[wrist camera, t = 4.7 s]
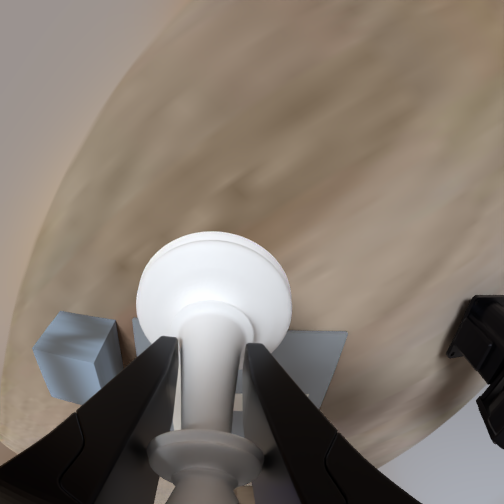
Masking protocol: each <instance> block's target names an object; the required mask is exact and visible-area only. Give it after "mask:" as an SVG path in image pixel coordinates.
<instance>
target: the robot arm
mask: <svg viewBox="0 0 504 504" xmlns="http://www.w3.org/2000/svg"><path fill="white" fill-rule="evenodd" d="M446 355H447V356H448V358H455V357H461V356H464V357H465V358H466V359H467V360H468V362H469V363H470V364H471V365H472V367H473V368H474V369H475V370H476V371H478V372H479V374H480V375H481V376H482V378H483V379H484V380H485V381H486V383H487V384H490V386H489V387H488V388H487V389H486V391H485V392H484V393H483V394H482V396H479V398H478V399H477V400H476V402H477V405H478V407H479V411H480V413H481V416H482V418H483V420H484V423H485V425H486V427H487V430H488V433H489V435H490V438H491V440H492V441H493V443H494V444H497V445H498V446H499V447H501V448H502V449H504V295H475V296H474V297H473V298H472V299H471V301H470V304H469V306H468V308H467V311H466V313H465V315H464V318H463V320H462V322H461V324H460V326H459V328H458V331H457V333H456V335H455V337H454V339H453V341H452V343H451V345H450V347H449V349H448V351H447V353H446ZM178 369H179V354H178V339H177V338H176V337H171V336H161V337H159V338H158V339H157V340H156V341H155V342H154V343H152V344H151V345H150V346H149V347H148V348H147V349H146V350H145V351H143V352H142V353H141V354H140V355H139V356H138V357H137V358H135V359H134V360H133V361H132V362H131V363H130V364H129V365H127V366H126V367H125V368H124V369H123V370H122V371H121V372H119V373H118V374H117V375H116V376H115V377H114V378H113V379H111V380H110V381H109V382H108V383H107V384H106V385H105V386H104V387H102V388H101V389H100V390H99V391H98V392H97V393H96V394H94V395H93V396H92V397H91V398H90V399H89V400H88V401H86V402H85V403H84V404H83V405H82V406H81V407H80V408H78V409H77V410H76V413H75V412H74V413H72V414H71V415H70V416H69V417H68V418H67V419H66V420H64V421H63V422H62V423H61V424H60V425H58V426H57V427H56V428H55V429H53V430H52V431H51V432H50V433H49V434H47V435H46V436H44V437H43V438H42V439H40V440H39V441H37V442H36V443H35V444H33V445H32V446H30V447H29V448H27V449H26V450H24V451H23V452H21V453H20V454H18V455H16V456H15V457H14V458H12V459H11V460H9V461H7V462H6V463H4V464H3V465H1V466H0V504H154V500H155V495H156V490H157V486H158V481H159V477H160V476H159V475H157V474H156V473H155V472H154V471H153V470H152V468H151V467H150V465H149V457H148V455H147V446H148V444H149V443H150V441H151V440H152V439H154V438H155V437H157V436H159V435H161V434H163V433H166V432H170V429H171V425H172V420H173V413H174V404H175V395H176V386H177V378H178ZM242 413H243V429H244V436H245V438H246V439H248V440H250V441H251V442H253V443H254V444H256V445H257V446H258V447H259V448H260V449H261V450H262V452H263V454H264V462H263V465H262V470H261V473H260V475H259V476H258V477H257V478H256V479H255V480H253V481H252V487H253V493H254V498H255V504H422V503H420V502H419V501H417V500H416V499H415V498H413V497H412V496H411V495H409V494H408V493H407V492H405V491H404V490H403V489H401V488H400V487H399V486H397V485H396V484H395V483H394V482H392V481H391V480H390V479H389V478H387V477H386V476H385V475H384V474H382V473H381V472H380V471H379V470H377V469H376V468H375V467H374V466H373V465H372V464H371V463H369V462H368V461H367V460H366V459H365V458H364V457H363V456H362V455H361V454H360V453H359V452H358V451H357V450H356V449H355V448H354V447H353V446H352V445H351V444H350V443H349V442H348V441H347V440H346V439H345V438H344V437H343V436H342V435H341V433H337V429H336V428H335V427H334V426H333V425H332V424H331V423H330V421H329V420H328V419H327V418H326V417H325V416H324V415H323V414H322V413H321V411H320V410H319V409H318V408H317V407H316V406H315V405H314V403H313V402H312V401H311V400H310V399H309V398H308V397H307V395H306V394H305V393H304V392H303V391H302V390H301V388H300V387H299V386H298V385H297V384H296V383H295V381H294V380H293V379H292V378H291V377H290V376H289V374H288V373H287V372H286V371H285V370H284V369H283V367H282V366H281V365H280V364H279V363H278V361H277V360H276V359H275V358H274V357H273V355H272V354H271V353H270V352H269V351H268V349H267V348H266V347H265V346H264V345H263V344H262V343H247V344H246V347H245V354H244V362H243V373H242Z"/></svg>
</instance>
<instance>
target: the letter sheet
mask: <svg viewBox="0 0 504 504" xmlns="http://www.w3.org/2000/svg"><path fill="white" fill-rule="evenodd" d="M132 322H133V330H134V339H135V346H136V354H137V357H138V356H139V355H140V354H141V353H142V352H143V351H145V350H146V349H147V348H148V347H149V346H150V345H151V343H150V341H149V340H148V339H147V337H146V336H145V334H144V332H143V330H142V328H141V326H140V323H139V320H138V318H134V317H133V319H132ZM347 335H348V333H347V331H295V330H288V331H287V333H286V335H285V337H284V339H283V340H282V342H281V343H280V344H279V346H278V347H277V348H276V349H275V350H274V351H273V352H272V353H271V354H272V355H273V357H274V358H275V359H276V360H277V361H278V363H279V364H280V365H281V366H282V367H283V369H284V370H285V371H286V372H287V373H288V374H289V376H290V377H291V378H292V379H293V380H294V381H295V383H296V384H297V385H298V386H299V387H300V388H301V390H302V391H303V392H304V393H305V394H306V395H307V397H308V398H309V399H310V400H311V401H312V402H313V403H314V405H315V406H316V407H317V408H318V409H319V408H320V406H321V404H322V401H323V399H324V396H325V394H326V391H327V389H328V386H329V384H330V381H331V379H332V376H333V374H334V371H335V368H336V366H337V363H338V360H339V358H340V355H341V352H342V349H343V347H344V344H345V341H346V338H347ZM242 373H243V369H241V370H238V377H237V384H236V392H235V400H234V408H233V422H232V431H231V434H235V435H238V436H241V437H243V438H245V436H244V429H243V413H242ZM175 430H181V365H179V369H178V378H177V386H176V395H175V404H174V413H173V420H172V425H171V429H170V431H175Z"/></svg>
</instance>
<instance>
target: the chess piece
mask: <svg viewBox="0 0 504 504" xmlns="http://www.w3.org/2000/svg"><path fill="white" fill-rule="evenodd" d="M136 309H137V316H138V320H139V323H140V326H141V328H142V330H143V332H144V334H145V336H146V337H147V339H148V340H149V341H150V343H151V344H152V343H154V342H155V341H156V340H157V339H158V338H159V337H161V336H171V337H176V338H177V339H178V354H179V365H181V430H175V431H170V432H166V433H163V434H161V435H159V436H157V437H155V438H154V439H152V440H151V441H150V443H149V444H148V446H147V455H148V457H149V465H150V467H151V468H152V470H153V471H154V472H155V473H156V474H157V475H159V476H160V477H162V478H163V479H165V480H167V481H169V482H172V483H173V484H174V485H175V486H176V487H175V488H174V490H173V492H172V493H171V495H170V497H169V498H168V500H167V502H166V503H165V504H240V503H239V501H238V499H237V497H236V495H235V493H234V491H233V490H234V489H235V488H237V487H240V486H243V485H246V484H248V483H250V482H252V481H253V480H255V479H256V478H257V477H258V476H259V475H260V473H261V470H262V465H263V462H264V454H263V452H262V450H261V449H260V448H259V447H258V446H257V445H256V444H254V443H253V442H251V441H250V440H248V439H246V438H243V437H241V436H238V435H235V434H231V431H232V422H233V408H234V400H235V392H236V384H237V377H238V370H241V369H243V362H244V354H245V347H246V344H247V343H262V344H263V345H264V346H265V347H266V348H267V349H268V351H269V352H270V353H272V352H273V351H274V350H275V349H276V348H277V347H278V346H279V344H280V343H281V342H282V340H283V339H284V337H285V335H286V333H287V331H288V328H289V325H290V322H291V316H292V301H291V289H290V285H289V281H288V279H287V276H286V274H285V272H284V270H283V269H282V267H281V265H280V264H279V263H278V261H277V260H276V259H275V258H274V257H273V256H272V255H271V254H270V253H269V252H268V251H267V250H265V249H264V248H263V247H261V246H260V245H258V244H257V243H255V242H253V241H251V240H249V239H247V238H244V237H241V236H238V235H235V234H230V233H225V232H199V233H193V234H189V235H186V236H183V237H180V238H178V239H176V240H174V241H172V242H170V243H168V244H167V245H165V246H164V247H163V248H161V249H160V250H159V251H158V252H157V253H156V254H155V255H154V256H153V257H152V258H151V260H150V261H149V262H148V264H147V266H146V267H145V269H144V271H143V274H142V276H141V279H140V283H139V288H138V292H137V299H136Z"/></svg>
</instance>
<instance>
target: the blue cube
mask: <svg viewBox="0 0 504 504" xmlns="http://www.w3.org/2000/svg"><path fill="white" fill-rule="evenodd" d="M32 349H33V352H34V355H35V357H36V360H37V363H38V365H39V368H40V370H41V373H42V375H43V378H44V380H45V382H46V385H47V387H48V389H49V391H50V394H51V396H52V397H55V398H58V399H62V400H65V401H69V402H72V403H76V404H80V405H83V404H84V403H85V402H86V401H88V400H89V399H90V398H91V397H92V396H93V395H94V394H96V393H97V392H98V391H99V390H100V389H101V388H102V387H104V386H105V385H106V384H107V383H108V382H109V381H110V380H111V379H113V378H114V377H115V376H116V375H117V374H118V373H119V372H121V371H122V370H123V368H124V367H123V362H122V357H121V351H120V345H119V339H118V333H117V327H116V320H112V319H105V318H99V317H93V316H87V315H81V314H75V313H69V312H64V311H60V312H59V313H58V315H57V316H56V317H55V318H54V320H53V321H52V322H51V324H50V325H49V326H48V328H47V329H46V330H45V332H44V333H43V334H42V336H41V337H40V338H39V340H38V341H37V342H36V344H35V345H34V347H33V348H32Z"/></svg>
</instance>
